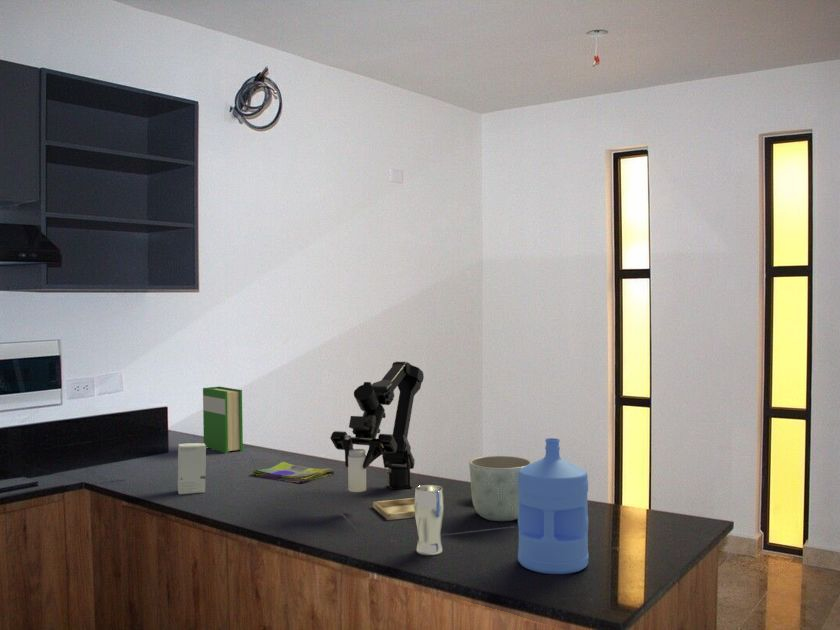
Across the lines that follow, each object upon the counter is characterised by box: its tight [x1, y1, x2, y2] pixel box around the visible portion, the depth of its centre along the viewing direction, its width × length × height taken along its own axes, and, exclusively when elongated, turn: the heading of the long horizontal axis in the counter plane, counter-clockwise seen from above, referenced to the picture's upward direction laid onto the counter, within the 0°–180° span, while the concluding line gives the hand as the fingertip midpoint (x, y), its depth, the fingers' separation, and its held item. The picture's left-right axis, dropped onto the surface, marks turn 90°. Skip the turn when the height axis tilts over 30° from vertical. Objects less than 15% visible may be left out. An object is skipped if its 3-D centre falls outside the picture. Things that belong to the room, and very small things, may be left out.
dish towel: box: [250, 461, 335, 484], centre depth 272 cm, size 18×24×3 cm
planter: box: [468, 455, 533, 522], centre depth 218 cm, size 17×17×15 cm
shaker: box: [347, 448, 367, 493], centre depth 224 cm, size 5×5×11 cm
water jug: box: [517, 437, 590, 575], centre depth 180 cm, size 16×16×28 cm
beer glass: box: [414, 484, 445, 556], centre depth 190 cm, size 7×7×15 cm
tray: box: [372, 497, 415, 521], centre depth 223 cm, size 14×14×2 cm
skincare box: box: [177, 442, 207, 495], centre depth 250 cm, size 8×6×15 cm
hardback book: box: [202, 386, 244, 454], centre depth 318 cm, size 18×7×24 cm, turn 43°
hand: (355, 467), depth 222 cm, fingers closed on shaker, 5 cm apart
